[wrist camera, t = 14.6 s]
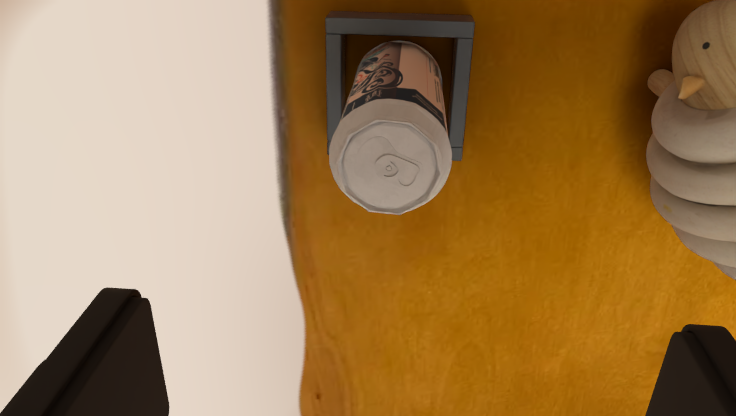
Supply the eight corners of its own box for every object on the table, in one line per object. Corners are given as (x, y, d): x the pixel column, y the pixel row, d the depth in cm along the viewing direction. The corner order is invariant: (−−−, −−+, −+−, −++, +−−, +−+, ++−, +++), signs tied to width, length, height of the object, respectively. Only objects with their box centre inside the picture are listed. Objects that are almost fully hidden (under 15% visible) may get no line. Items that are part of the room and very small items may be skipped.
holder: (330, 10, 32) (325, 17, 30) (471, 14, 31) (475, 21, 29) (332, 142, 35) (327, 155, 33) (459, 148, 35) (461, 161, 33)
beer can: (375, 23, 32) (353, 86, 21) (456, 59, 32) (476, 138, 22) (342, 104, 34) (307, 197, 23) (419, 136, 34) (420, 242, 24)
